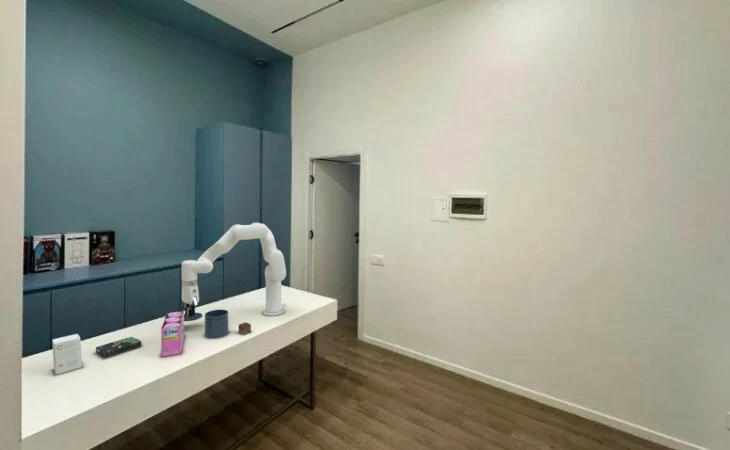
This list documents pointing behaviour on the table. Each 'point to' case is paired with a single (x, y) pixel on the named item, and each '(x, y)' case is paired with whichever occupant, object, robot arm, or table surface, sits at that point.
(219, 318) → the canister
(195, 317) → the lid
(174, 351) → the gum box
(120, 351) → the disk drive
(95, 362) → the table surface
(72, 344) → the small box
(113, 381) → the table surface
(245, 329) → the block
